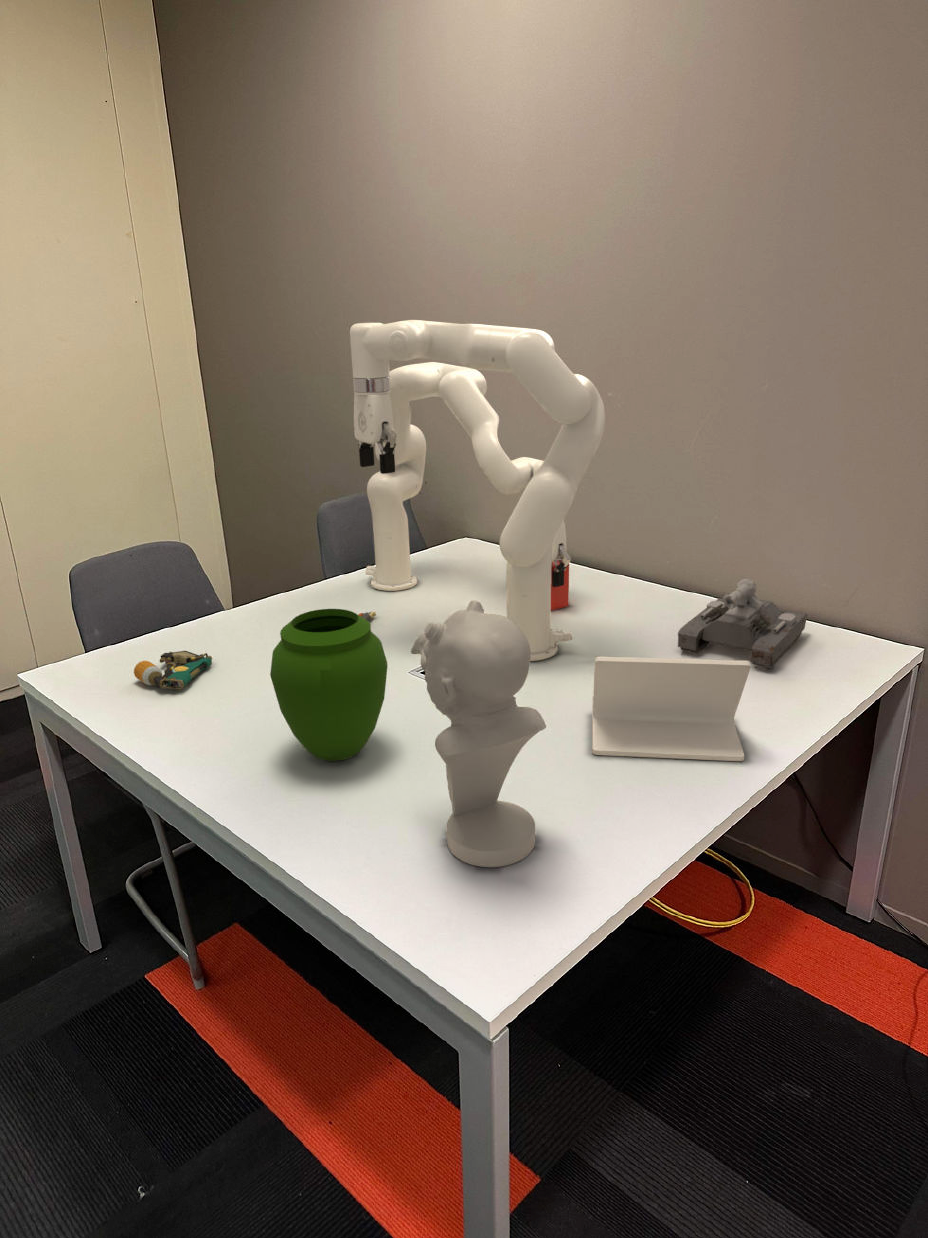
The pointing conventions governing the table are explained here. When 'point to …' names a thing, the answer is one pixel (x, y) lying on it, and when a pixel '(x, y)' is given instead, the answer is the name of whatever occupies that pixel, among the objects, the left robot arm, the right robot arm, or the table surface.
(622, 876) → the table surface
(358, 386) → the right robot arm
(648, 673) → the tablet stand
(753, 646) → the toy
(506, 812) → the bust sculpture
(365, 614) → the toy gun
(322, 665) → the vase
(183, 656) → the spray gun
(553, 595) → the block
